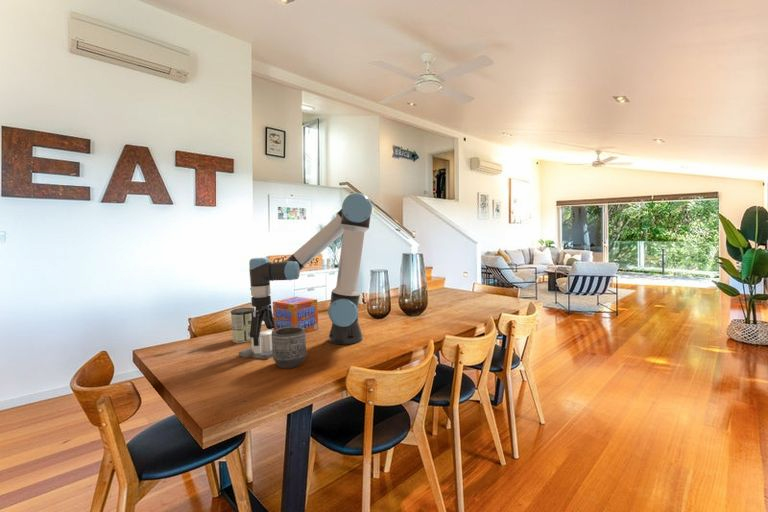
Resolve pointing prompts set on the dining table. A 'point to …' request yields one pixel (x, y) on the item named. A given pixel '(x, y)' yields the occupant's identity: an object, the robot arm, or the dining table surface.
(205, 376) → the dining table surface
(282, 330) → the planter
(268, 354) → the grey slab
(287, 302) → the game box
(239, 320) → the coffee can
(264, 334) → the cap
